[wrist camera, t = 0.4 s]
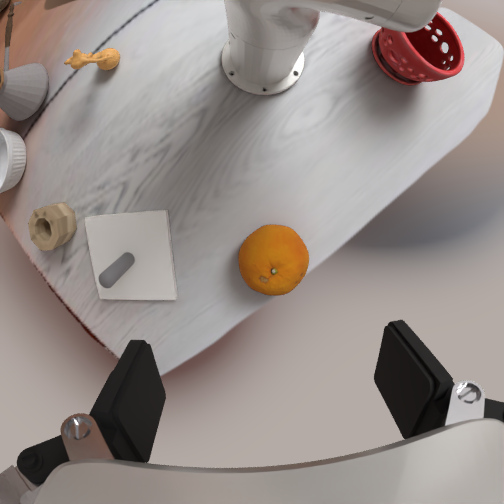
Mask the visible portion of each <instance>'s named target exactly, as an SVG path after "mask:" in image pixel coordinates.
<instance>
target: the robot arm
mask: <svg viewBox="0 0 504 504" xmlns="http://www.w3.org/2000/svg"><path fill="white" fill-rule="evenodd" d="M442 1H443V0H224V2H225V8H226V15H227V22H228V31H229V39H228V41H227V42H226V44H225V45H224V48H223V51H222V58H221V59H222V66H223V70H224V72H225V74H226V76H227V77H228V78H229V80H230V81H231V82H232V83H233V84H234V85H235V86H237V87H238V88H240V89H242V90H243V91H246V92H249V93H252V94H257V95H272V94H277V93H280V92H283V91H285V90H287V89H288V88H290V87H291V86H292V85H294V84H295V82H296V81H297V80H298V79H299V77H300V76H301V74H302V71H303V69H304V63H305V61H304V53H303V50H304V48H305V46H306V44H307V43H308V41H309V39H310V38H311V36H312V34H313V32H314V30H315V29H316V27H317V24H318V22H319V16H320V11H322V12H329V13H334V14H338V15H342V16H346V17H350V18H354V19H357V20H361V21H364V22H367V23H371V24H374V25H378V26H381V27H384V28H387V29H391V30H394V31H399V32H414V31H418V30H420V29H422V28H423V27H425V26H426V25H427V24H428V23H429V22H430V21H431V20H432V19H433V18H434V16H435V15H436V13H437V11H438V9H439V8H440V5H441V3H442ZM231 74H234V75H233V76H231ZM293 74H296V76H294V75H293ZM263 89H265V90H266V91H265V92H264V91H263ZM374 380H375V384H376V385H377V387H378V389H379V391H380V393H381V395H382V397H383V399H384V401H385V403H386V405H387V406H388V408H389V410H390V412H391V414H392V416H393V418H394V420H395V422H396V424H397V426H398V428H399V430H400V432H401V434H402V436H403V438H404V439H405V440H402V441H399V442H395V443H392V444H389V445H385V446H382V447H378V448H375V449H371V450H367V451H363V452H359V453H354V454H349V455H345V456H340V457H335V458H329V459H324V460H318V461H311V462H304V463H297V464H288V465H278V466H266V467H248V468H200V467H182V466H169V465H158V464H149V463H147V462H148V461H149V459H150V455H151V451H152V447H153V443H154V439H155V436H156V432H157V428H158V425H159V421H160V417H161V414H162V410H163V406H164V403H165V399H166V394H165V390H164V387H163V384H162V381H161V378H160V375H159V372H158V368H157V365H156V362H155V359H154V355H153V352H152V348H151V345H150V344H147V343H146V341H145V340H130V342H129V343H128V345H127V347H126V349H125V351H124V352H123V354H122V356H121V358H120V360H119V361H118V364H117V365H116V367H115V369H114V371H112V372H111V374H110V375H109V377H108V379H107V381H106V383H105V385H104V387H103V389H102V390H101V392H100V394H99V396H98V398H97V400H96V402H95V404H94V406H93V408H92V410H91V412H90V414H89V415H87V414H74V415H72V416H70V417H68V418H67V419H66V420H65V421H64V422H63V424H62V426H61V435H59V436H57V437H55V438H52V439H50V440H47V441H45V442H42V443H40V444H37V445H35V446H32V447H29V448H27V449H25V450H23V451H22V452H21V453H20V455H19V456H18V459H17V466H16V467H14V466H13V465H12V466H10V467H9V468H8V469H6V470H5V471H3V472H2V473H1V474H0V504H504V402H499V401H495V400H490V399H486V398H485V393H484V390H483V388H482V387H481V386H480V385H479V384H477V383H476V382H473V381H470V380H463V381H459V382H458V383H456V384H454V382H453V381H452V380H453V378H452V377H451V376H450V374H449V373H448V372H447V371H446V369H445V368H444V367H443V366H442V365H441V363H440V362H439V361H438V360H437V359H436V357H435V356H434V355H433V354H432V353H431V351H430V350H429V349H428V348H427V347H426V346H425V345H424V343H423V342H422V341H421V340H420V339H419V337H418V336H417V335H416V334H415V333H414V332H413V331H412V330H411V328H410V327H409V326H408V325H407V324H406V323H405V322H404V321H403V320H398V321H392V322H389V324H388V326H385V328H384V333H383V338H382V343H381V348H380V353H379V357H378V362H377V366H376V370H375V374H374Z"/></svg>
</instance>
